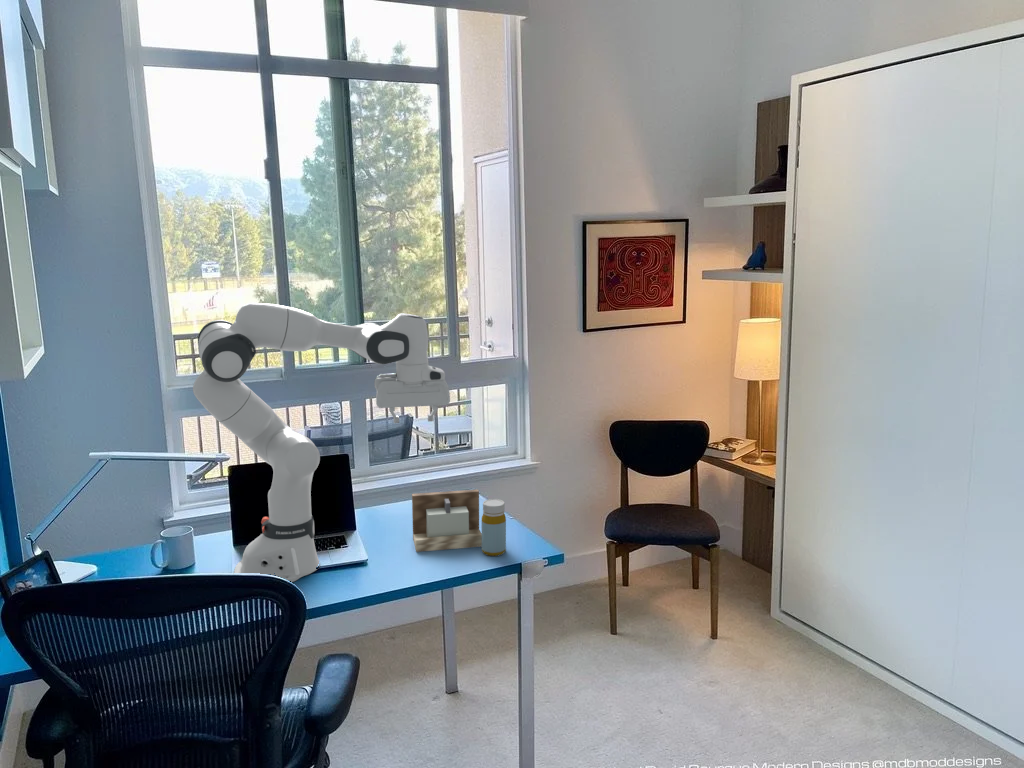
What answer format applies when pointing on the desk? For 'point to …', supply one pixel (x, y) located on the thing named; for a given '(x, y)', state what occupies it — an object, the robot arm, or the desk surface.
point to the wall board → (437, 501)
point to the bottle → (493, 527)
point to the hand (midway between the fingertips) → (413, 421)
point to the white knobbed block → (447, 521)
